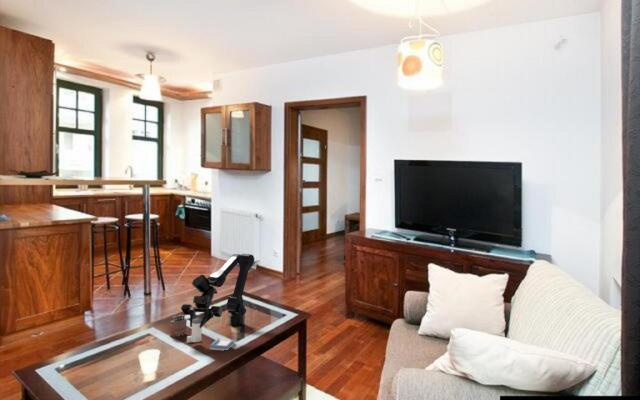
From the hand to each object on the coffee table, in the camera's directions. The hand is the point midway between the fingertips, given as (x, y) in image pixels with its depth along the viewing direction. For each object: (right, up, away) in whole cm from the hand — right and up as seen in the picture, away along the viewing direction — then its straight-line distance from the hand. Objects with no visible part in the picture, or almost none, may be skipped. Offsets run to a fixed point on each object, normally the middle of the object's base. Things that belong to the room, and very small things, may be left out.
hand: (195, 327), depth 163 cm
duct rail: (-3, -9, +6) cm, 11 cm away
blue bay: (+12, -9, +1) cm, 15 cm away
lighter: (-13, -9, +13) cm, 21 cm away
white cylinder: (0, -7, +1) cm, 7 cm away
